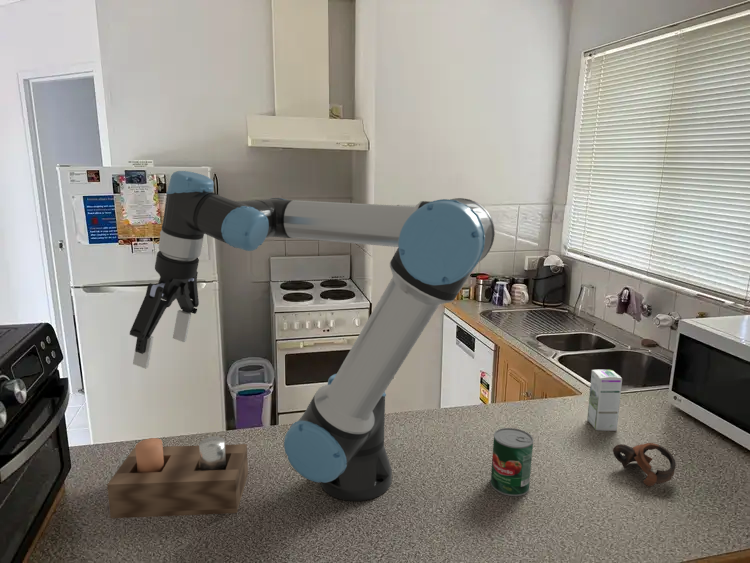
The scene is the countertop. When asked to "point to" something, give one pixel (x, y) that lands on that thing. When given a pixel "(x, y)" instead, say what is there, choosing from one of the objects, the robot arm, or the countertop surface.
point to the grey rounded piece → (212, 453)
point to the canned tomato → (511, 461)
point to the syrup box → (604, 400)
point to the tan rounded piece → (149, 455)
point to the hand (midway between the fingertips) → (161, 352)
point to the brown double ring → (645, 461)
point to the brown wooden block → (179, 485)
